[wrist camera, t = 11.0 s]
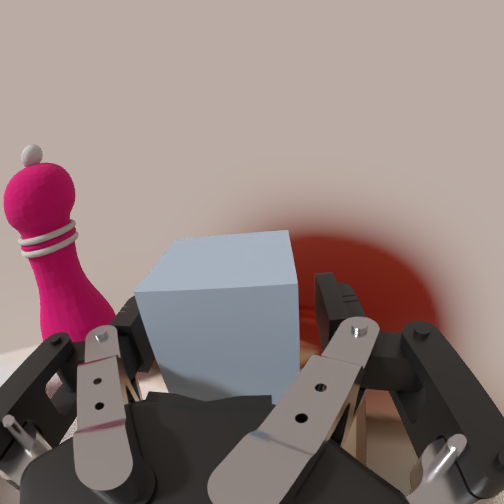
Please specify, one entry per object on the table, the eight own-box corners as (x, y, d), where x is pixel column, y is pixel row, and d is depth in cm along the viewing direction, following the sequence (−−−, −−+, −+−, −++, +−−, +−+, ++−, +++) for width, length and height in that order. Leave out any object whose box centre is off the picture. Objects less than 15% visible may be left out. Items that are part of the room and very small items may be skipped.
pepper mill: (127, 339, 28) (76, 136, 20) (141, 383, 22) (70, 125, 15) (65, 358, 25) (3, 159, 17) (66, 405, 19) (-26, 158, 11)
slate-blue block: (203, 467, 11) (133, 291, 8) (216, 403, 16) (177, 239, 12) (297, 467, 11) (298, 283, 8) (294, 401, 15) (287, 230, 12)
